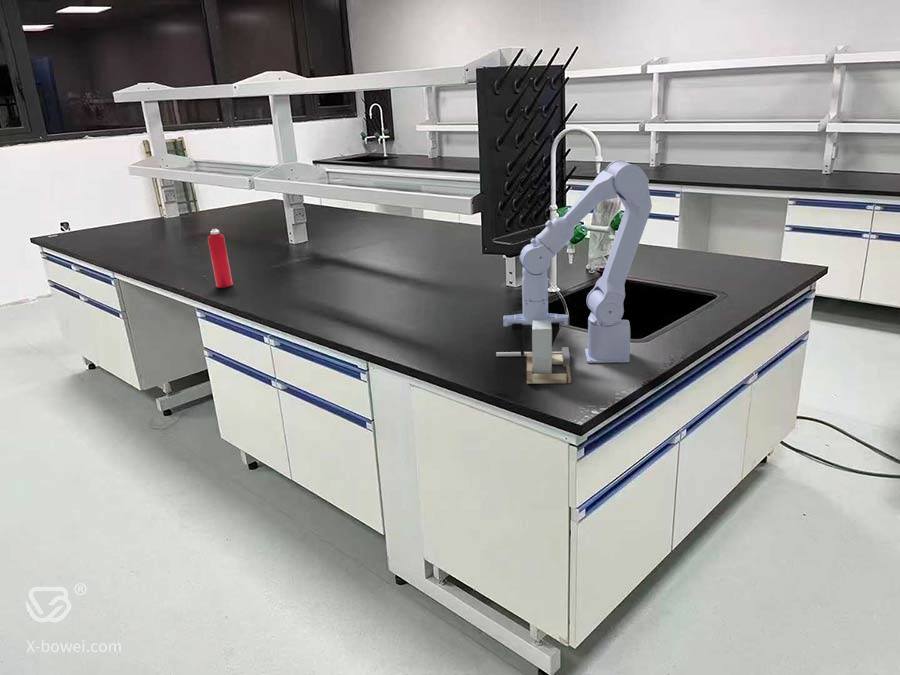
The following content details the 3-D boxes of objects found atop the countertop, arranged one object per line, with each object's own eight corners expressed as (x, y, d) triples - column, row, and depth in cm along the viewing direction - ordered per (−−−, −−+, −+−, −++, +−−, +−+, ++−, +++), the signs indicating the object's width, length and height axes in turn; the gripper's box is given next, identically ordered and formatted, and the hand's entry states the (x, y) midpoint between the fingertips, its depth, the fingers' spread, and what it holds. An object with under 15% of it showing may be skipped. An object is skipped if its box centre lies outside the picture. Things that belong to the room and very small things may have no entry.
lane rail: (568, 354, 159) (568, 346, 159) (569, 366, 153) (569, 358, 152) (496, 355, 161) (496, 347, 161) (494, 367, 155) (494, 359, 154)
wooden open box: (567, 356, 158) (567, 333, 156) (570, 383, 144) (570, 359, 142) (527, 356, 159) (526, 334, 157) (526, 383, 145) (526, 359, 143)
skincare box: (552, 381, 146) (552, 329, 142) (532, 381, 147) (531, 329, 142) (551, 369, 152) (551, 319, 148) (532, 369, 152) (531, 319, 148)
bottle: (227, 287, 232) (217, 230, 225) (213, 287, 233) (202, 230, 226) (235, 283, 237) (225, 227, 230) (221, 283, 238) (211, 227, 231)
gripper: (567, 291, 154) (566, 347, 159) (503, 293, 156) (505, 347, 161) (568, 301, 147) (568, 358, 152) (502, 302, 149) (504, 359, 154)
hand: (535, 354), depth 156 cm, fingers open, 5 cm apart
